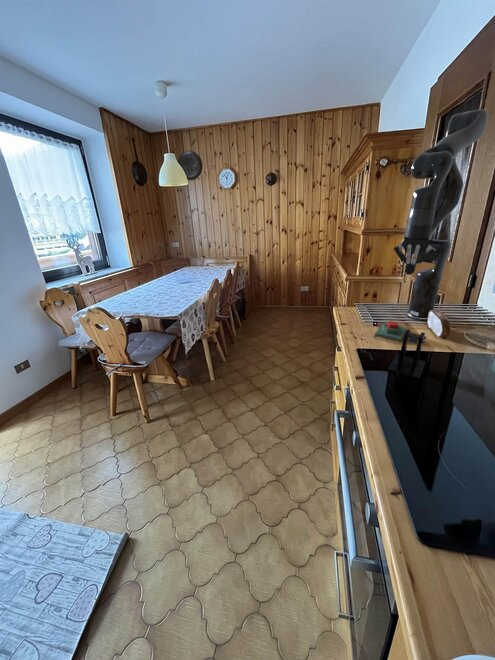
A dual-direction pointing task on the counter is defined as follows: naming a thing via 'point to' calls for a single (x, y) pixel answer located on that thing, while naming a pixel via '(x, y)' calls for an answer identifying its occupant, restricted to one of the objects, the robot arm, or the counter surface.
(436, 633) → the counter surface
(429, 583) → the counter surface
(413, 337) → the lever
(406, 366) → the bracket
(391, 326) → the button
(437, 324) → the white and brown slab
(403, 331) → the button box
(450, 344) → the counter surface
